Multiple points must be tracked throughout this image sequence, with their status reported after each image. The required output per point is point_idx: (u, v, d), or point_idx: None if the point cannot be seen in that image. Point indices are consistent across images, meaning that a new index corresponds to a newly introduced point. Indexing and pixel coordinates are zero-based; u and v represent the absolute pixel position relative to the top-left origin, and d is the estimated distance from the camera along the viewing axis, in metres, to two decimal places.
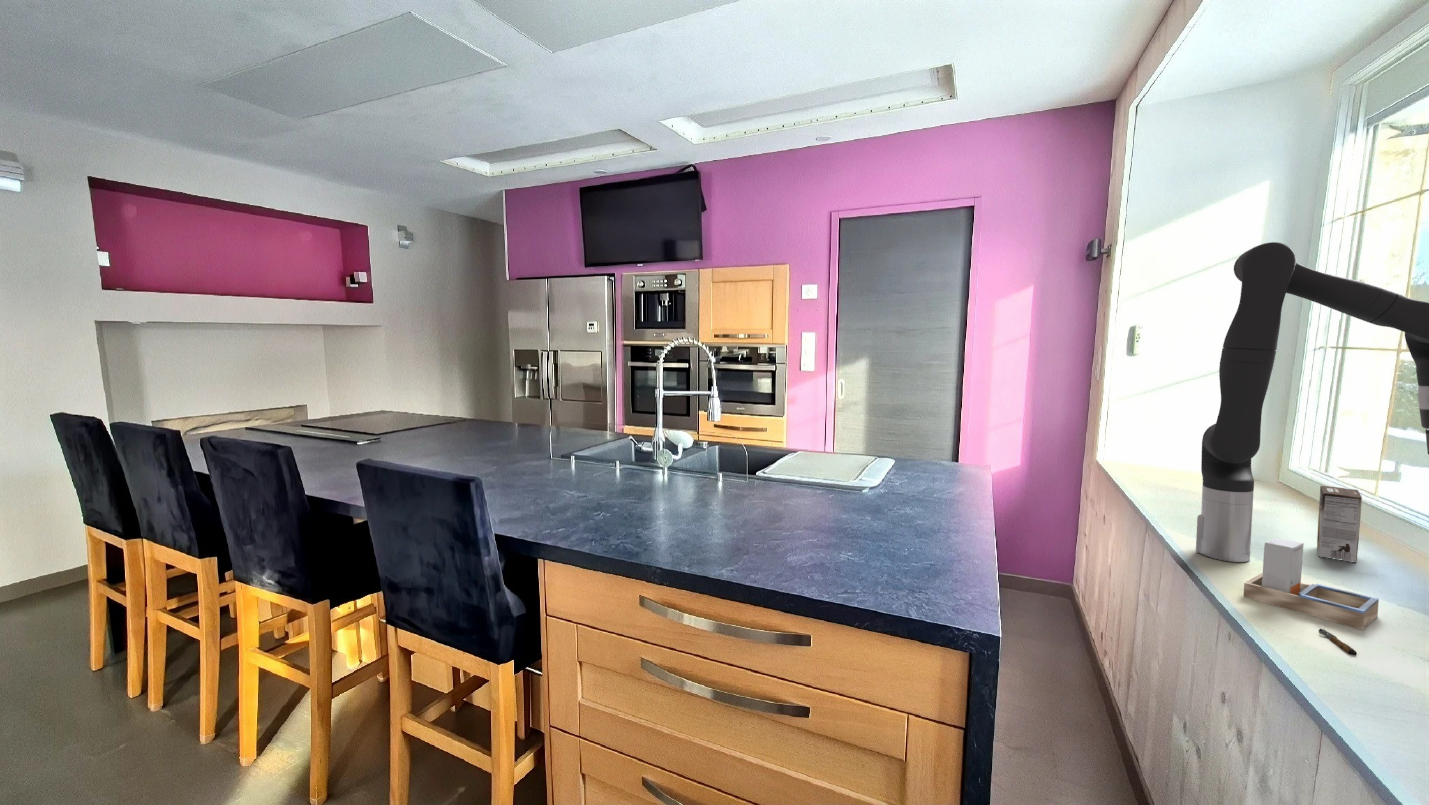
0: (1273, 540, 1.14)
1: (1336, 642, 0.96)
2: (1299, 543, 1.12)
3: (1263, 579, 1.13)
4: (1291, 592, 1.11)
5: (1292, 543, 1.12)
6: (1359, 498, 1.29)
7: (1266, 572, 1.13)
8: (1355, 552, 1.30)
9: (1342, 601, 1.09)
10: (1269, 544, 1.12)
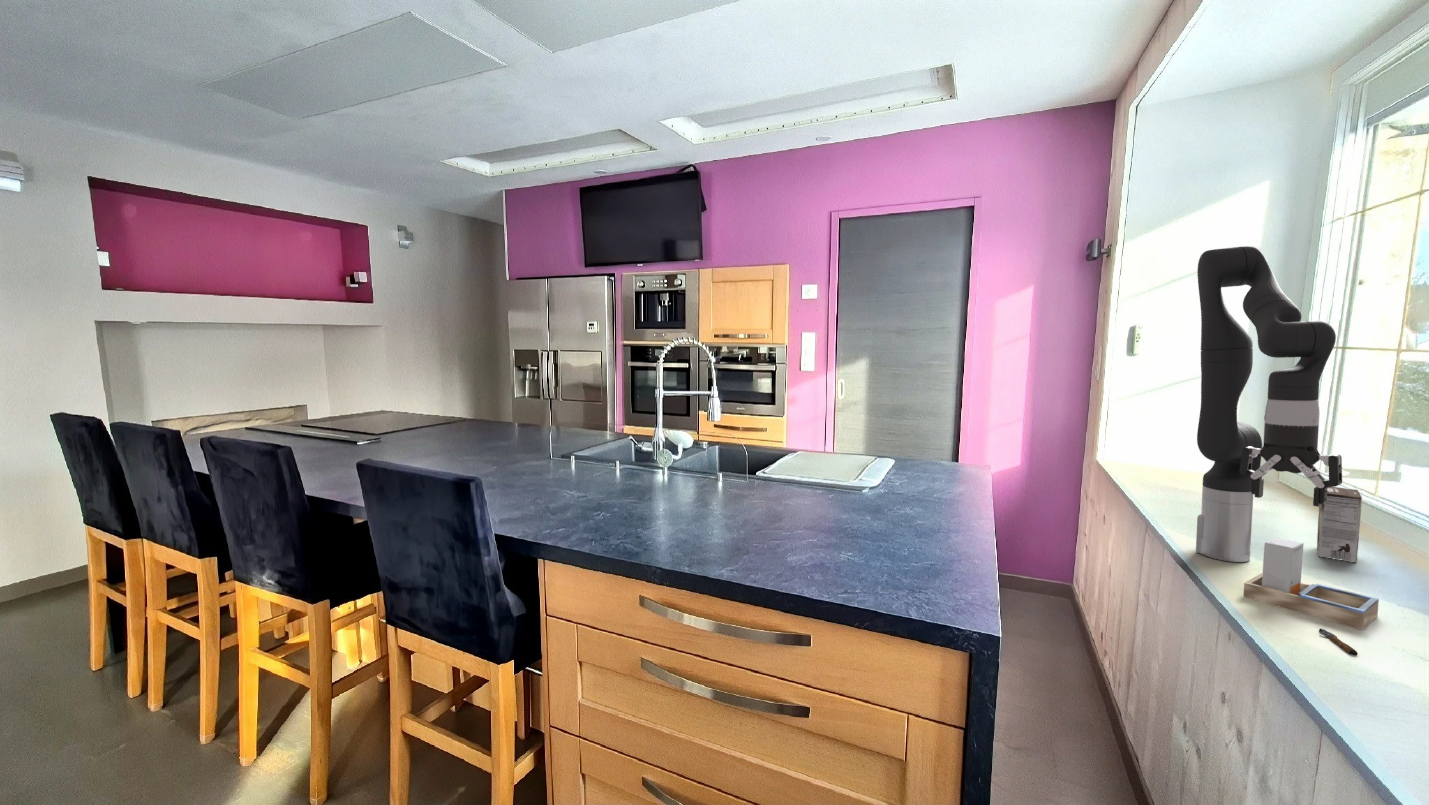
0: (1273, 540, 1.14)
1: (1337, 642, 0.96)
2: (1299, 543, 1.12)
3: (1263, 579, 1.13)
4: (1291, 592, 1.11)
5: (1292, 543, 1.12)
6: (1359, 498, 1.29)
7: (1266, 572, 1.13)
8: (1355, 552, 1.30)
9: (1342, 601, 1.09)
10: (1269, 544, 1.12)
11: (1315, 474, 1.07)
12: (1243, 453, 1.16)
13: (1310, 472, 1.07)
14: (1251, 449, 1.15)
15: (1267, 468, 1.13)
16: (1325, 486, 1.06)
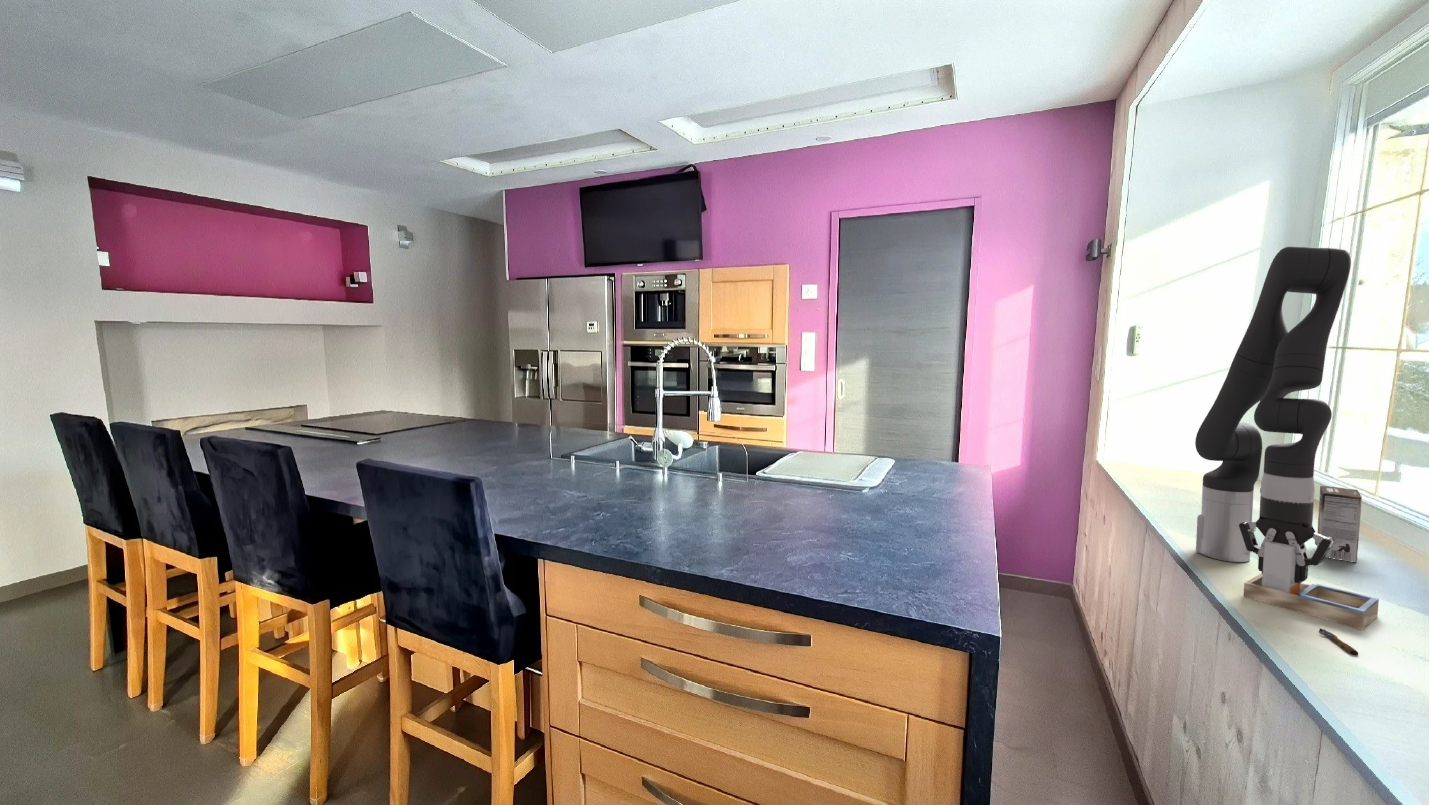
0: None
1: (1337, 642, 0.96)
2: None
3: (1263, 579, 1.13)
4: (1291, 592, 1.11)
5: None
6: (1359, 498, 1.29)
7: (1266, 572, 1.13)
8: (1355, 552, 1.30)
9: (1342, 601, 1.09)
10: (1269, 544, 1.12)
11: (1302, 552, 1.09)
12: (1241, 529, 1.17)
13: (1298, 550, 1.09)
14: (1247, 524, 1.17)
15: None
16: (1306, 564, 1.09)
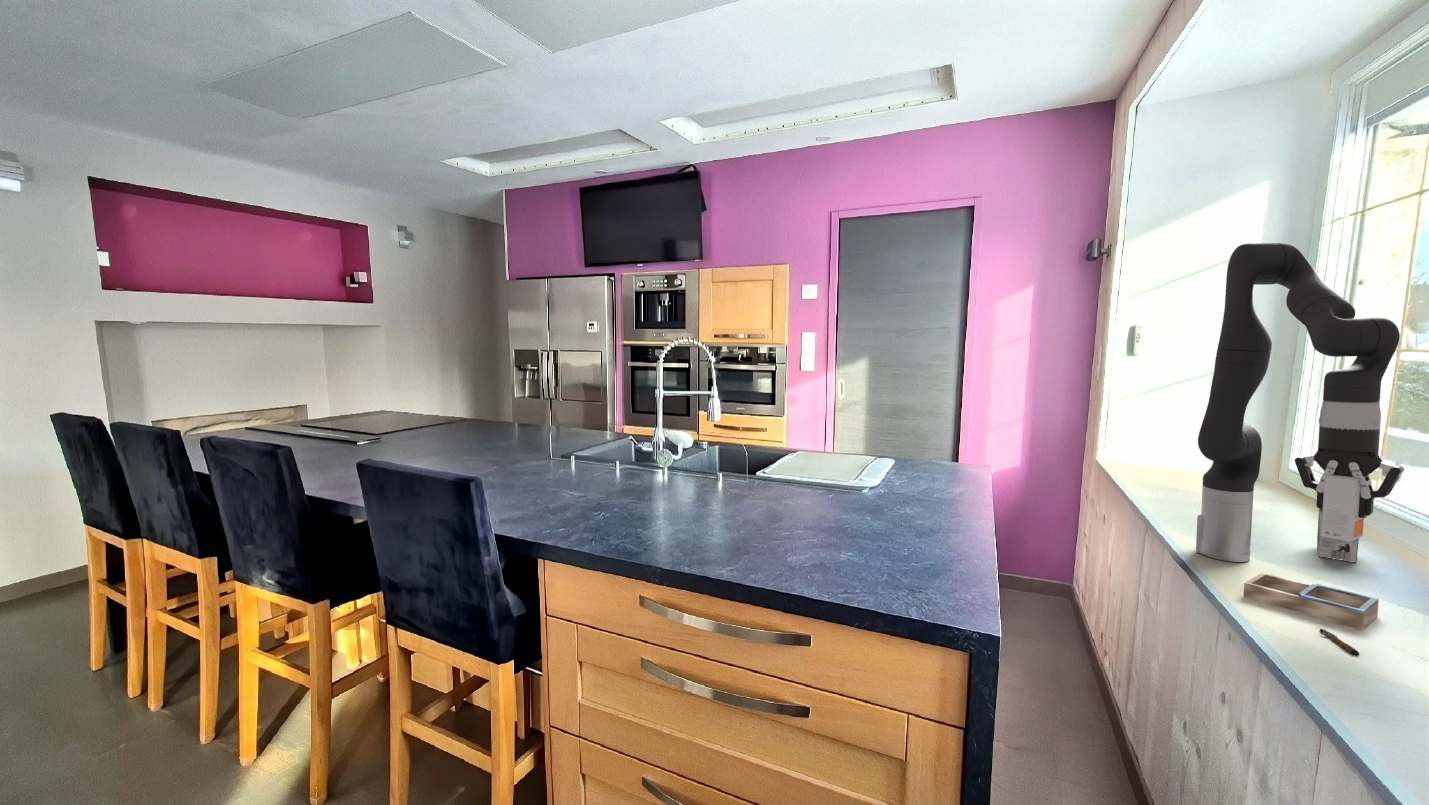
0: None
1: (1338, 642, 0.96)
2: None
3: (1323, 515, 1.05)
4: (1355, 527, 1.02)
5: None
6: None
7: (1327, 507, 1.05)
8: (1355, 552, 1.30)
9: (1342, 601, 1.09)
10: (1330, 477, 1.04)
11: (1367, 484, 1.01)
12: (1298, 464, 1.09)
13: (1363, 481, 1.01)
14: (1304, 458, 1.09)
15: None
16: (1372, 497, 1.01)
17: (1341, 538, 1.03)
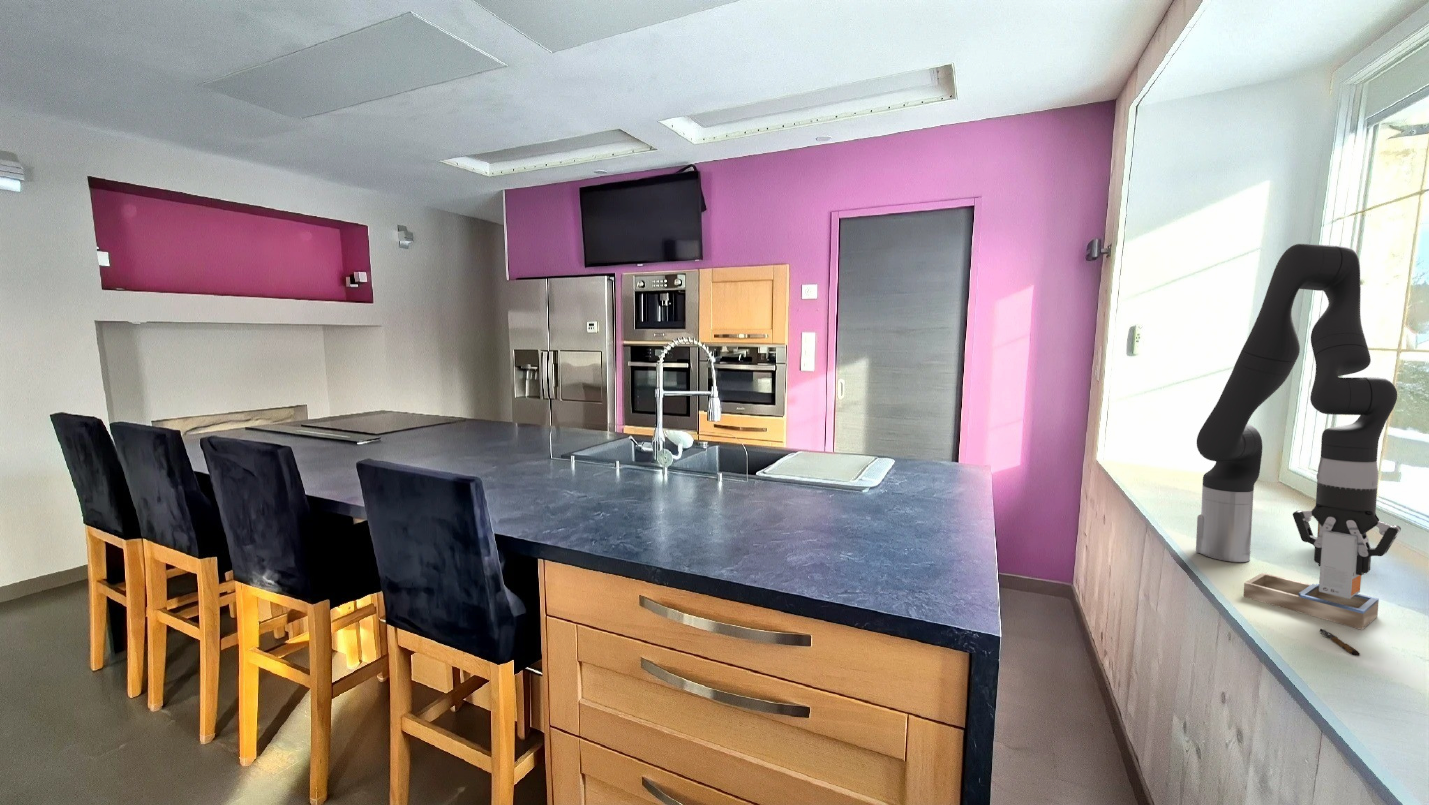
0: None
1: (1338, 643, 0.96)
2: None
3: (1321, 571, 1.06)
4: (1353, 585, 1.03)
5: None
6: None
7: (1324, 564, 1.06)
8: None
9: (1342, 601, 1.09)
10: (1328, 534, 1.05)
11: (1364, 542, 1.02)
12: (1296, 519, 1.10)
13: (1360, 539, 1.02)
14: (1302, 513, 1.09)
15: None
16: (1369, 555, 1.02)
17: (1339, 595, 1.04)
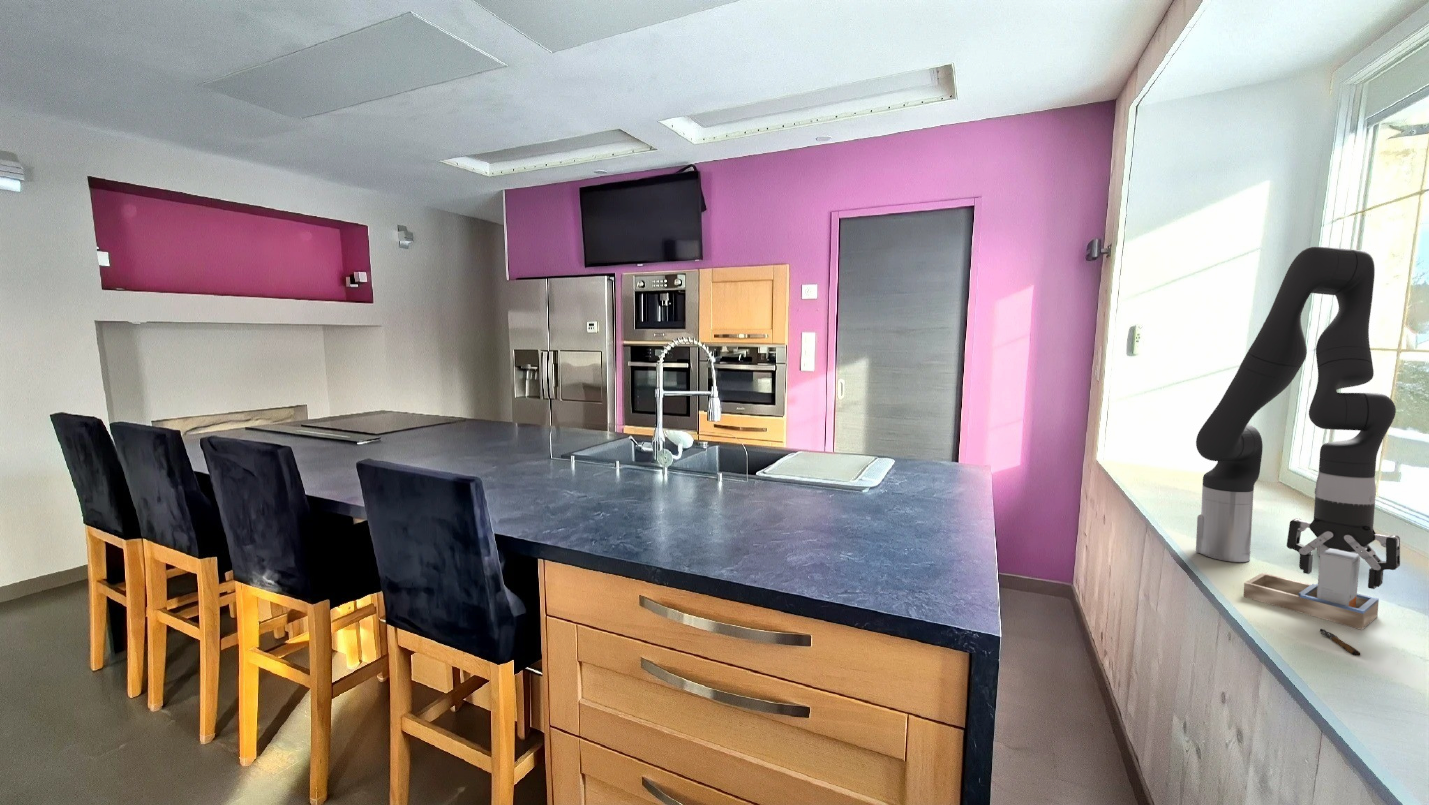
0: (1328, 551, 1.07)
1: (1339, 643, 0.96)
2: (1356, 554, 1.05)
3: (1318, 593, 1.06)
4: None
5: (1349, 554, 1.05)
6: None
7: (1322, 586, 1.06)
8: (1355, 552, 1.30)
9: None
10: (1325, 556, 1.05)
11: (1371, 555, 1.02)
12: (1291, 526, 1.10)
13: (1365, 553, 1.02)
14: (1300, 522, 1.10)
15: (1318, 544, 1.07)
16: (1381, 568, 1.01)
17: None
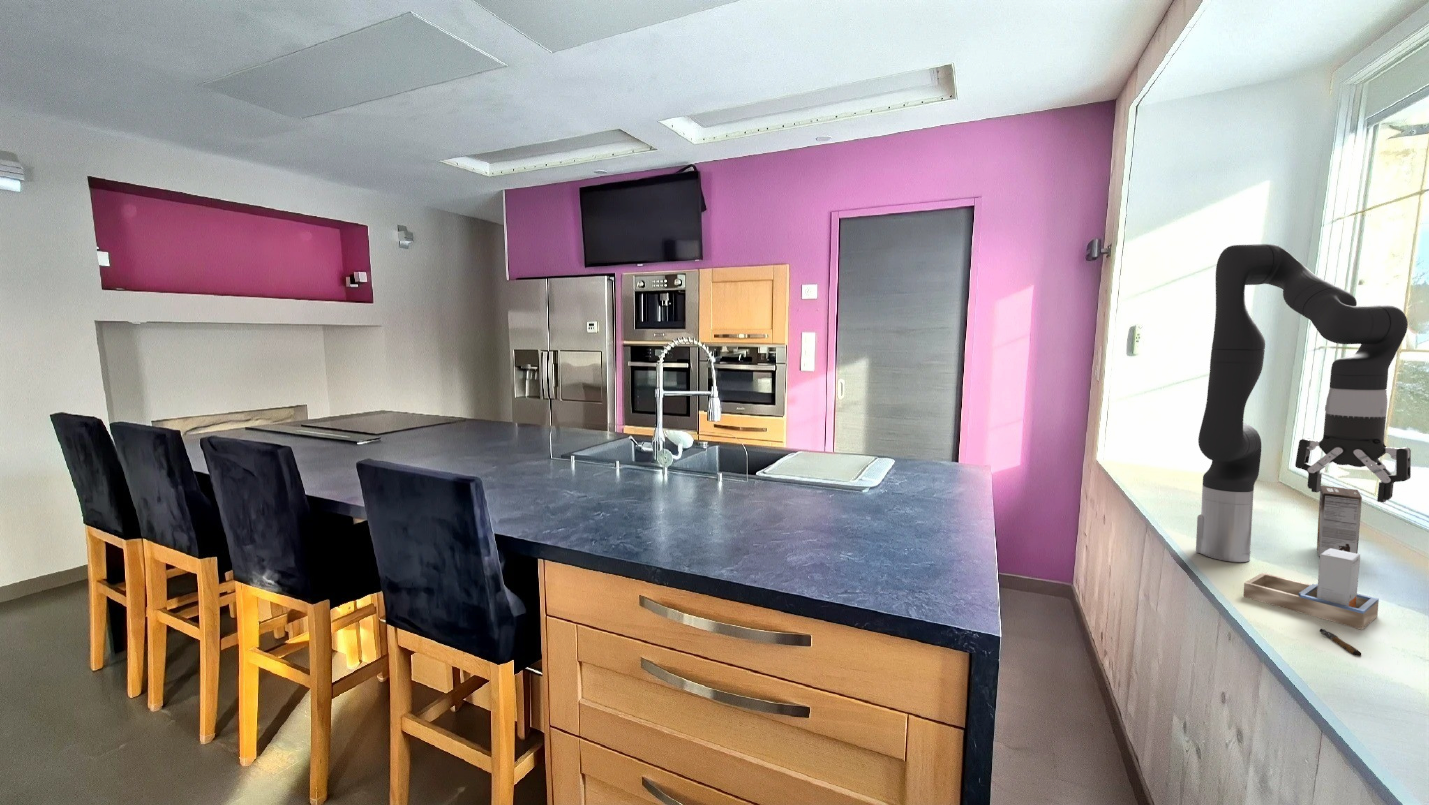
0: (1328, 551, 1.07)
1: (1339, 643, 0.96)
2: (1356, 554, 1.05)
3: (1318, 593, 1.06)
4: None
5: (1349, 554, 1.05)
6: (1359, 498, 1.29)
7: (1322, 586, 1.06)
8: (1355, 552, 1.30)
9: None
10: (1325, 556, 1.05)
11: (1381, 468, 1.01)
12: (1300, 445, 1.10)
13: (1375, 466, 1.01)
14: (1309, 441, 1.09)
15: (1327, 461, 1.06)
16: (1391, 481, 1.00)
17: None
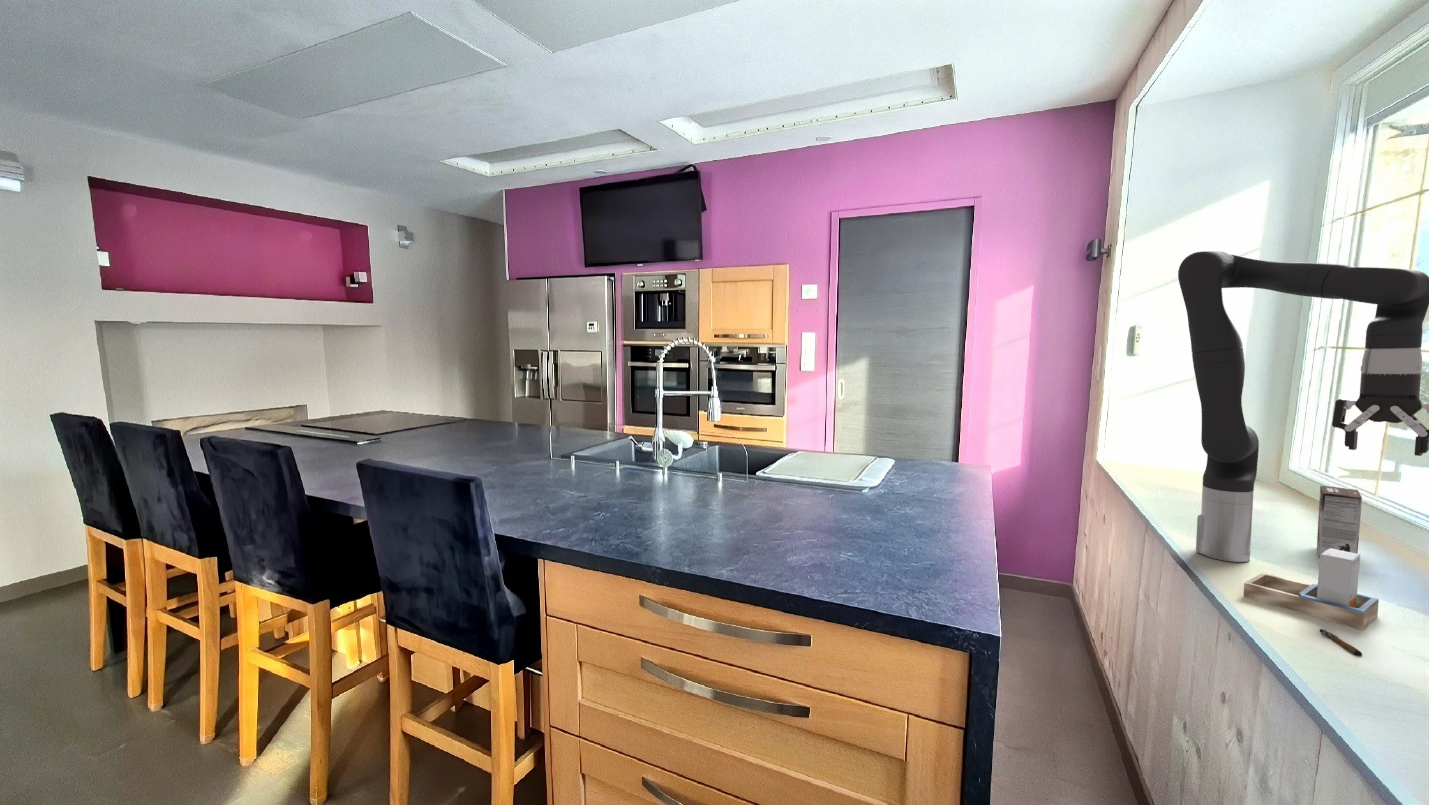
0: (1328, 551, 1.07)
1: (1340, 643, 0.96)
2: (1356, 554, 1.05)
3: (1318, 593, 1.06)
4: None
5: (1349, 554, 1.05)
6: (1359, 498, 1.29)
7: (1322, 586, 1.06)
8: (1355, 552, 1.30)
9: None
10: (1325, 556, 1.05)
11: (1417, 423, 1.06)
12: (1337, 405, 1.15)
13: (1412, 421, 1.06)
14: (1345, 401, 1.14)
15: (1364, 419, 1.11)
16: (1428, 434, 1.05)
17: None
